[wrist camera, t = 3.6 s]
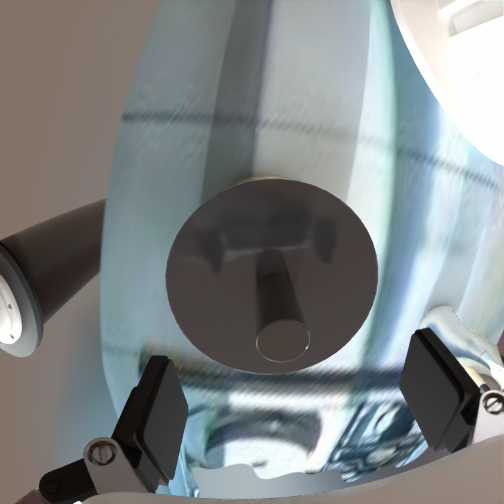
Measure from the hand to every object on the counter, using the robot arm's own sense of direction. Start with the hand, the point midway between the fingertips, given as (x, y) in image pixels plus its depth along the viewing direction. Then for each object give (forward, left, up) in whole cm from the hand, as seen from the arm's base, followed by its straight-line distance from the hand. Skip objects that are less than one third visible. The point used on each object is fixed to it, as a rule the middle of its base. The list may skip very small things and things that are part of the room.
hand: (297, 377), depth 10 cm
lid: (0, 0, -8) cm, 8 cm away
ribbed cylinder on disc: (+24, +20, -17) cm, 35 cm away
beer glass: (+20, -12, -17) cm, 29 cm away
